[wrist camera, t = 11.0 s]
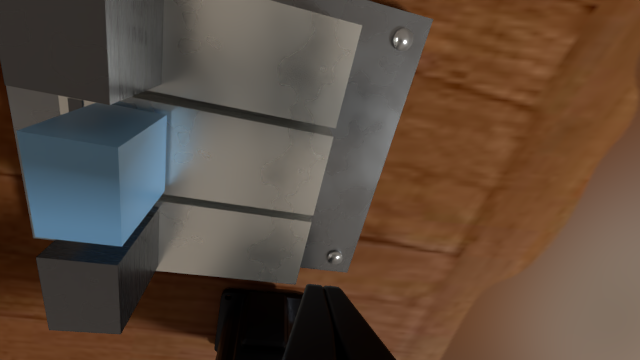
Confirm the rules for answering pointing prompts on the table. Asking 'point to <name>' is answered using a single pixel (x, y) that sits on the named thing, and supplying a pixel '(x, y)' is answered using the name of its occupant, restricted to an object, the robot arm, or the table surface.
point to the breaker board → (218, 131)
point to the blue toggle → (93, 172)
